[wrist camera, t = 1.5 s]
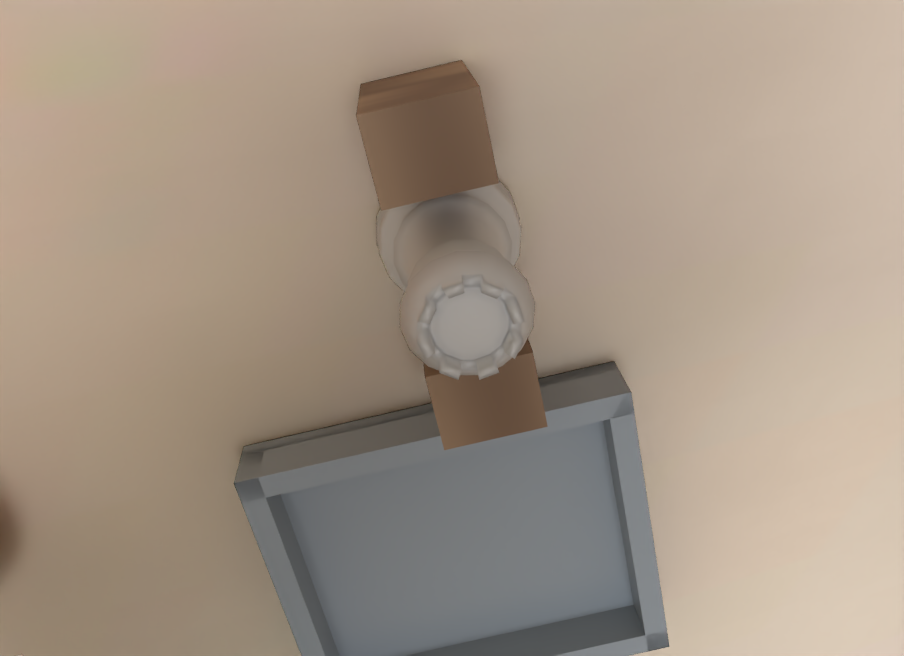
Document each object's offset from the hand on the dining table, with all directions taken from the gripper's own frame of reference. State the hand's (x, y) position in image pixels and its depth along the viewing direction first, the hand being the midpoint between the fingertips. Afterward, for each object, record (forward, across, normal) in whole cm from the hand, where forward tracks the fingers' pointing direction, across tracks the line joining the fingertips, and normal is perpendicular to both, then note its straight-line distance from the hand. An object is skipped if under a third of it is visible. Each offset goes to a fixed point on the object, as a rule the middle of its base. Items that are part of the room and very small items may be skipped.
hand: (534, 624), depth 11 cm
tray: (+17, +2, +11) cm, 21 cm away
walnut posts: (+17, 0, 0) cm, 17 cm away
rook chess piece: (+17, 0, 0) cm, 17 cm away
